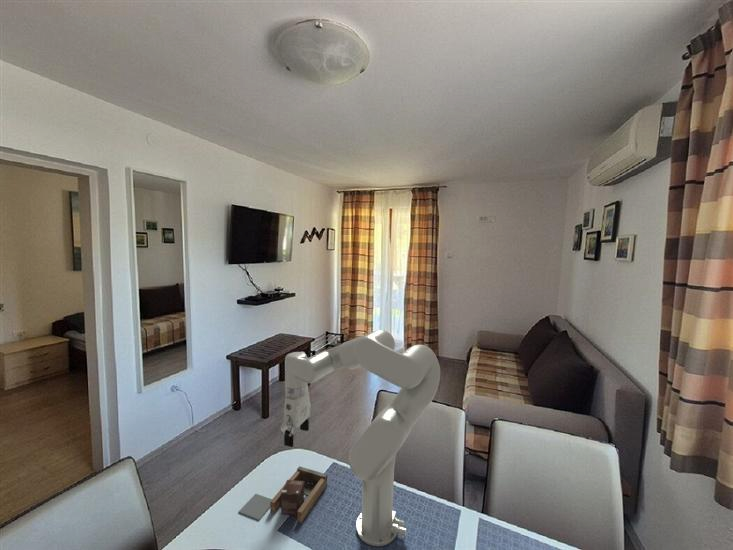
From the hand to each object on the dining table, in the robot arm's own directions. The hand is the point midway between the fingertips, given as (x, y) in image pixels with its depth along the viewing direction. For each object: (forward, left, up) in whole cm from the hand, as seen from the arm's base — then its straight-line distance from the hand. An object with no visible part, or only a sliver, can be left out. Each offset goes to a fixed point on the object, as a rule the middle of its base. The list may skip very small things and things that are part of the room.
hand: (296, 437), depth 107 cm
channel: (-3, +2, -20) cm, 20 cm away
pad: (+8, +10, -20) cm, 24 cm away
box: (-3, +6, -20) cm, 21 cm away
